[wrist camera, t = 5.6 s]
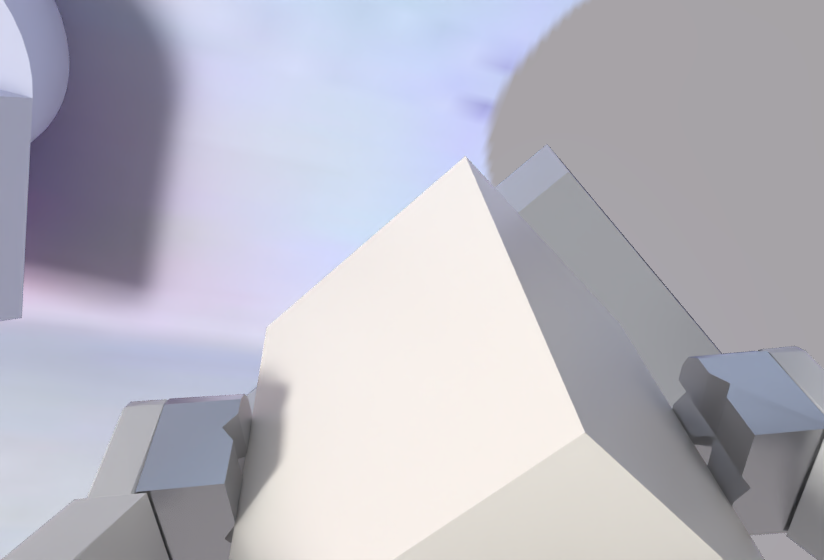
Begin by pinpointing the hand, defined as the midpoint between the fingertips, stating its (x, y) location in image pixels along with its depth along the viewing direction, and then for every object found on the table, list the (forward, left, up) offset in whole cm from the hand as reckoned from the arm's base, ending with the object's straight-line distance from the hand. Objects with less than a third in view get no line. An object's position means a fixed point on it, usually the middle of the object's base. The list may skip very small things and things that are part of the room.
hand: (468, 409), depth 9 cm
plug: (0, 0, -3) cm, 3 cm away
